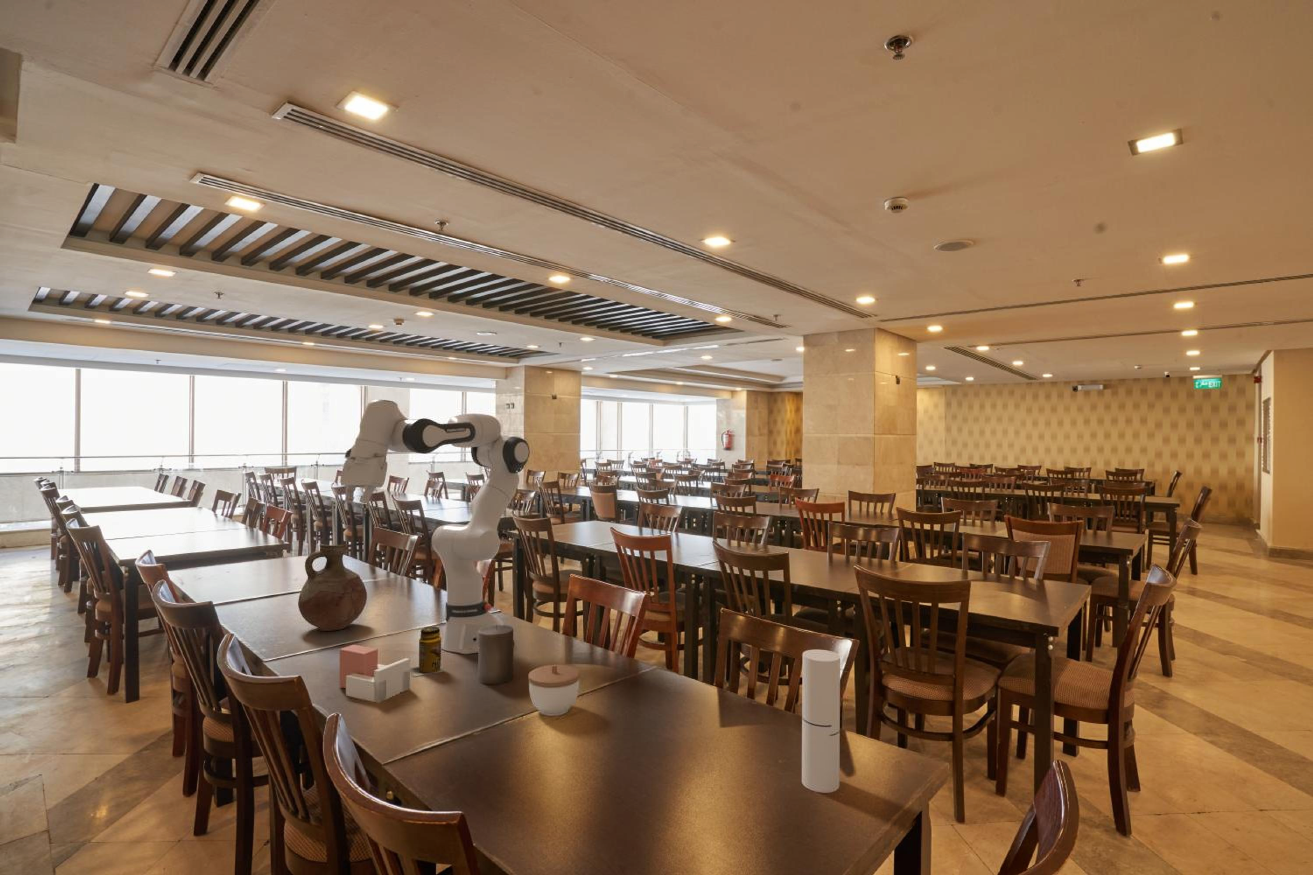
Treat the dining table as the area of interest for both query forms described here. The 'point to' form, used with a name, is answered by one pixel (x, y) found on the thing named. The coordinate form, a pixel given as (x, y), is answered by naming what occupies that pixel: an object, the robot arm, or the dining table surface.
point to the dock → (380, 682)
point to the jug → (331, 591)
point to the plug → (357, 662)
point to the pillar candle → (495, 654)
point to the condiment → (429, 652)
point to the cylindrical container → (820, 720)
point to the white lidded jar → (554, 688)
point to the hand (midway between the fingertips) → (355, 502)
